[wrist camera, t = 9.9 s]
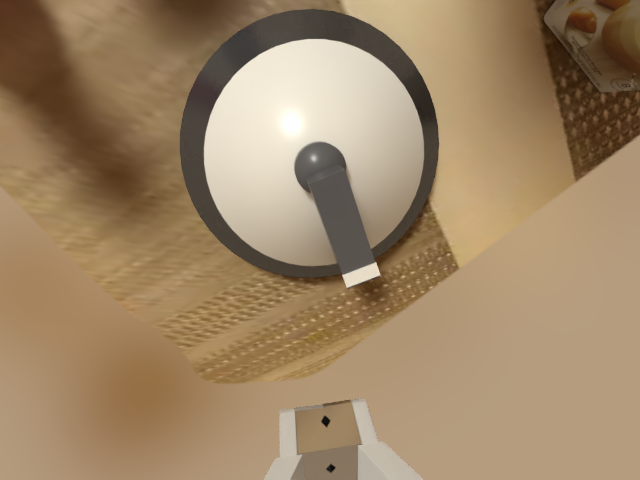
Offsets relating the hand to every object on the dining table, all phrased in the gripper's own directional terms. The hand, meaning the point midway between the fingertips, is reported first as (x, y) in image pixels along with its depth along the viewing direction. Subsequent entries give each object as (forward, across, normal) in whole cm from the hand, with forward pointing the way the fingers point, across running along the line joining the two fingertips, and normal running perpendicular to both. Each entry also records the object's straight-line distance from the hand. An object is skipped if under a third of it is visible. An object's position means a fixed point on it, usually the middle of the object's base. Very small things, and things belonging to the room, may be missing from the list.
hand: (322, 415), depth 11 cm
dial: (+17, +2, +6) cm, 18 cm away
